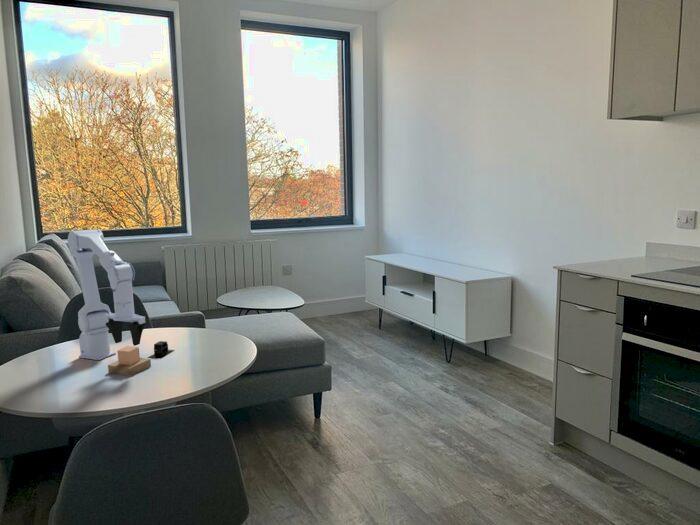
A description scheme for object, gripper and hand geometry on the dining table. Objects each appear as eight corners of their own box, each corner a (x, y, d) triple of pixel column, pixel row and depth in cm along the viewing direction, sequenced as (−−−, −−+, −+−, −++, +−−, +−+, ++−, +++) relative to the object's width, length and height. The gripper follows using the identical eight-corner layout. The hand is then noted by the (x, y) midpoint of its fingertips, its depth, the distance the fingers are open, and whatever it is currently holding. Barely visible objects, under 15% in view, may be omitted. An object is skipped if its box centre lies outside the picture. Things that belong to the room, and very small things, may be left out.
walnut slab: (108, 374, 172) (107, 365, 171) (130, 364, 180) (129, 356, 179) (130, 377, 168) (129, 368, 168) (151, 367, 176) (150, 359, 176)
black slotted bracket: (160, 361, 182) (159, 348, 182) (141, 360, 184) (140, 347, 183) (179, 350, 194) (179, 338, 194) (161, 349, 196) (160, 337, 195)
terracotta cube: (118, 363, 172) (117, 350, 171) (128, 359, 176) (127, 346, 175) (130, 365, 170) (128, 351, 170) (140, 360, 175) (138, 347, 174)
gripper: (96, 303, 169) (100, 344, 172) (131, 306, 164) (135, 349, 166) (114, 298, 176) (117, 338, 178) (148, 301, 170) (152, 342, 172)
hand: (127, 343), depth 173 cm, fingers open, 7 cm apart
